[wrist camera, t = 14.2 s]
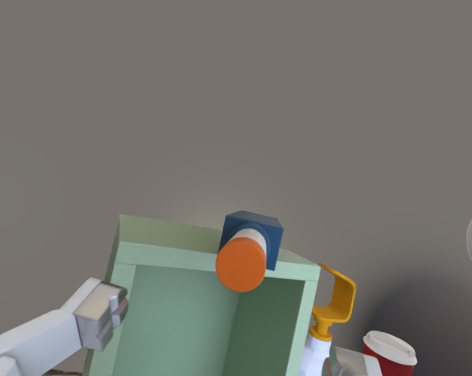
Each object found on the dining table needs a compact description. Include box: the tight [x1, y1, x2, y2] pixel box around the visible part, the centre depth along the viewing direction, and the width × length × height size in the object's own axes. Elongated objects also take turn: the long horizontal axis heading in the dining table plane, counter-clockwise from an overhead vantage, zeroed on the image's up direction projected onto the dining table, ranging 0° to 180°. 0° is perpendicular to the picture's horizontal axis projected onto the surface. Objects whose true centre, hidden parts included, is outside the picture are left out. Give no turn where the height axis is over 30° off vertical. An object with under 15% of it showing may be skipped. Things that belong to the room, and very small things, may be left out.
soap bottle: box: [298, 263, 356, 376], centre depth 40 cm, size 9×9×25 cm
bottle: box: [215, 211, 284, 292], centre depth 23 cm, size 20×4×3 cm, turn 173°
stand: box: [82, 214, 321, 376], centre depth 28 cm, size 13×18×27 cm
